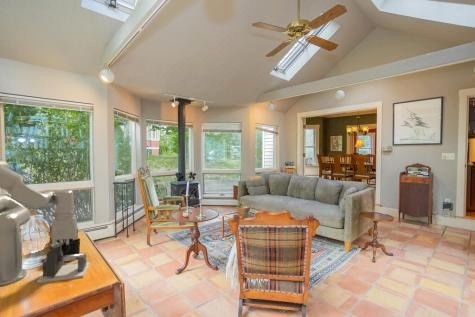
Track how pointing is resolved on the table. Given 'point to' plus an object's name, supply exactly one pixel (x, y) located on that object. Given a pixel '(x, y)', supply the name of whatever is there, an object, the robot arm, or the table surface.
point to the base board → (65, 273)
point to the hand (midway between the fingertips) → (65, 251)
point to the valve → (53, 244)
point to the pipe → (79, 257)
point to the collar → (54, 260)
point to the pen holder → (73, 248)
